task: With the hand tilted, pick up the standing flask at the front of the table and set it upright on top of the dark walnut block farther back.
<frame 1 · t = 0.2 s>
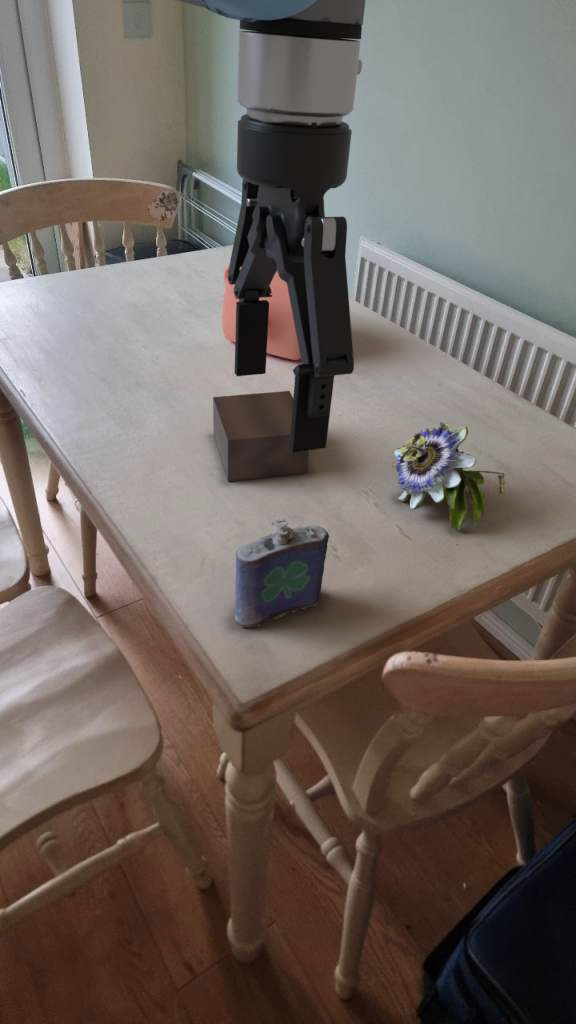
hand: (276, 407, 58), 21 cm above the table, tool pointing down, fingers open, 13 cm apart
teapot: (267, 348, 112), on the table
flask: (277, 609, 68), on the table
walnut block: (259, 454, 88), on the table
passion flower: (437, 501, 83), on the table
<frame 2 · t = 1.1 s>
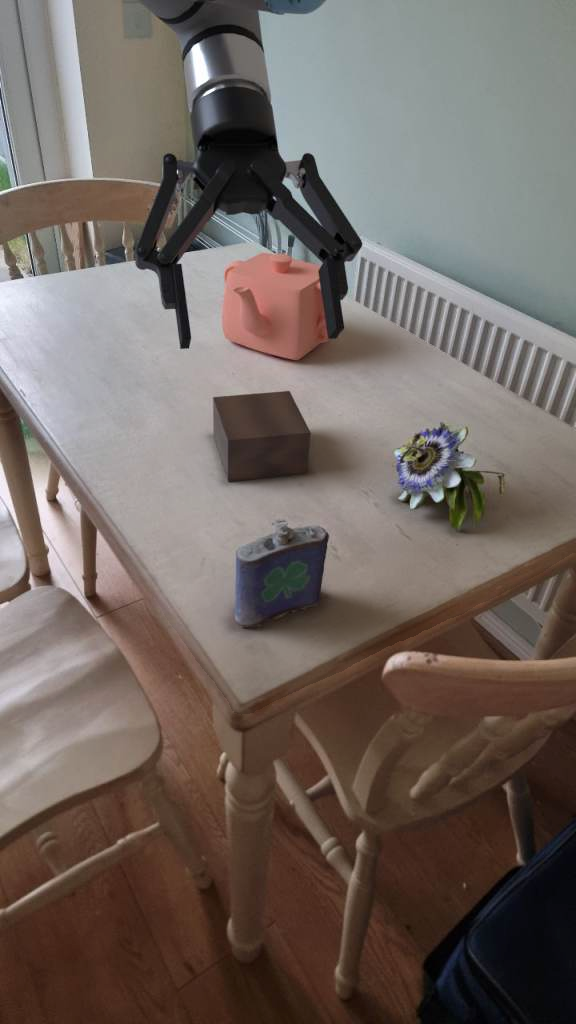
hand: (262, 339, 61), 24 cm above the table, tool tilted 45°, fingers open, 13 cm apart
nothing on the table moved.
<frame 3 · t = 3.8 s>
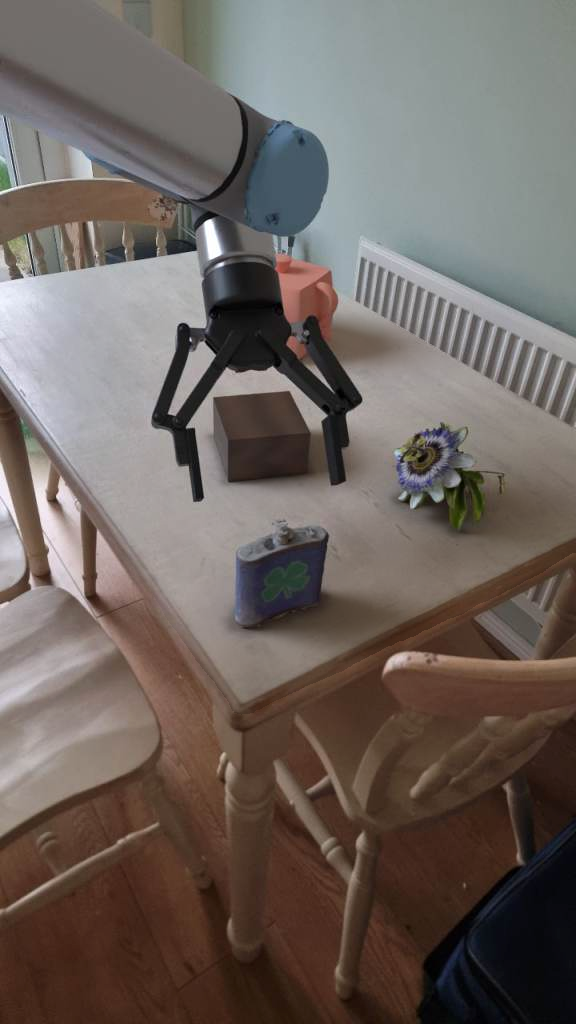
hand: (270, 492, 65), 10 cm above the table, tool tilted 45°, fingers open, 13 cm apart
nothing on the table moved.
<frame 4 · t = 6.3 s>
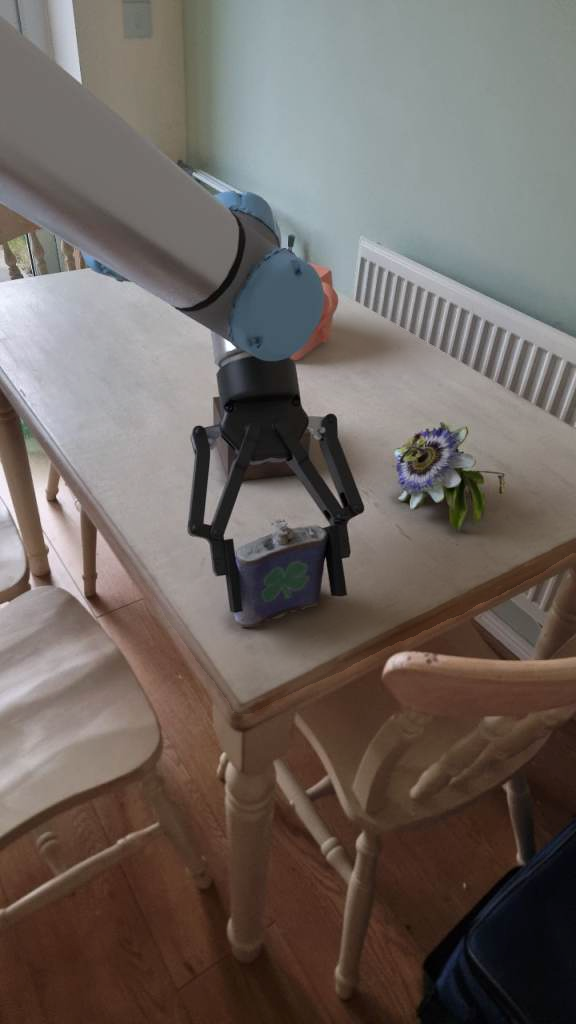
hand: (288, 603, 63), 4 cm above the table, tool tilted 45°, fingers closed on flask, 9 cm apart
flask: (277, 609, 68), on the table, touching gripper
everything else where it was.
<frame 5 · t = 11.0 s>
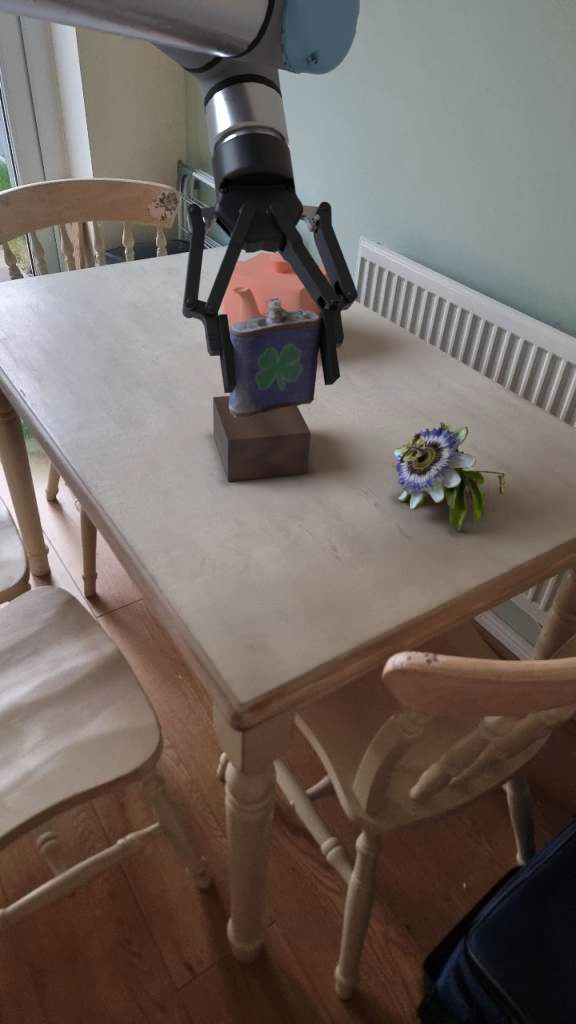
hand: (282, 384, 64), 19 cm above the table, tool tilted 45°, fingers closed on flask, 9 cm apart
flask: (272, 406, 69), point 15 cm above the table, touching gripper
everything else where it was.
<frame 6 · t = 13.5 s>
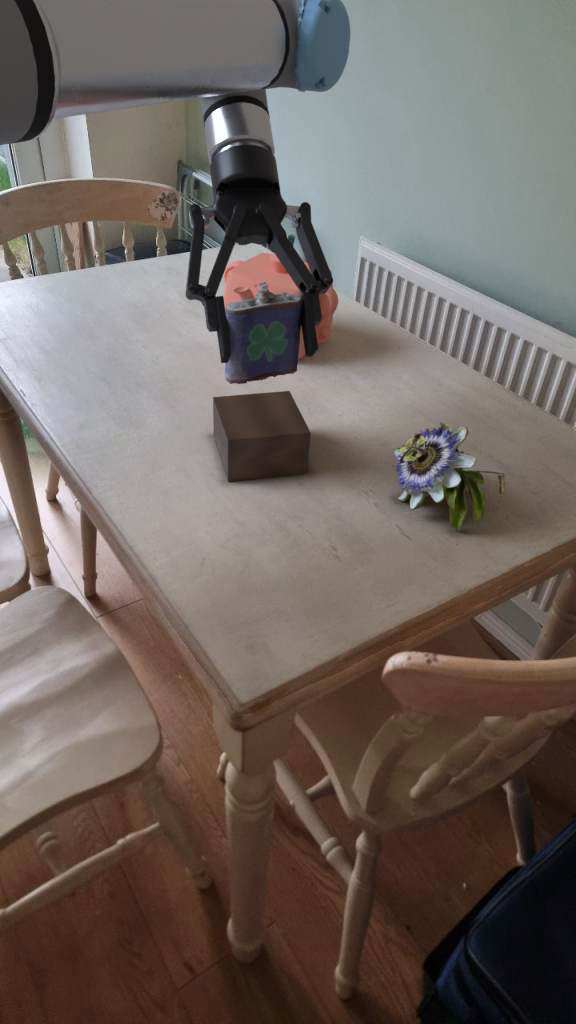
hand: (269, 355, 76), 15 cm above the table, tool tilted 45°, fingers closed on flask, 9 cm apart
flask: (261, 375, 81), point 11 cm above the table, touching gripper
everything else where it was.
when the fingers open (10 cm above the table, at t = 15.6 s): flask stays where it is, resting on walnut block.
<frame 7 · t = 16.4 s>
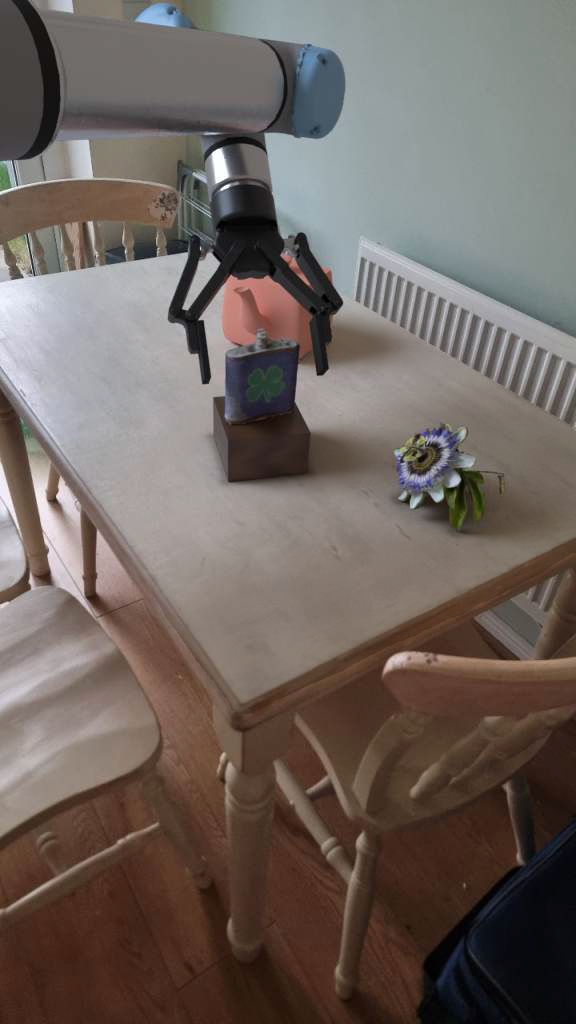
hand: (265, 376, 79), 12 cm above the table, tool tilted 45°, fingers open, 13 cm apart
flask: (259, 415, 85), point 6 cm above the table, touching walnut block
everything else where it was.
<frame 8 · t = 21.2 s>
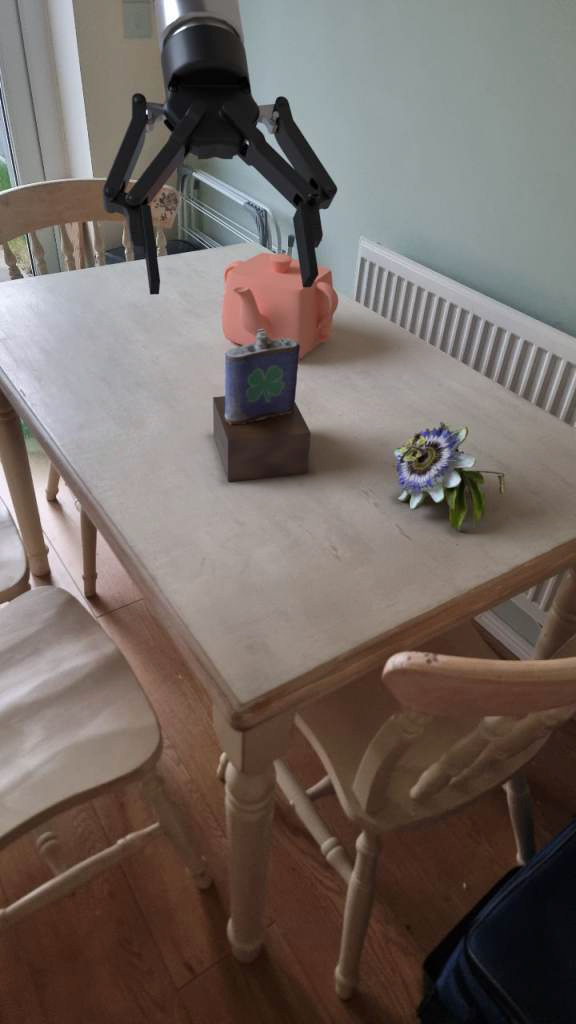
hand: (234, 284, 60), 28 cm above the table, tool tilted 45°, fingers open, 13 cm apart
nothing on the table moved.
at the end: flask inside the target area on the walnut block (0.1 cm from its centre), point 5.8 cm above the walnut block's base; flask tilted 0°; the gripper is holding nothing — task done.
